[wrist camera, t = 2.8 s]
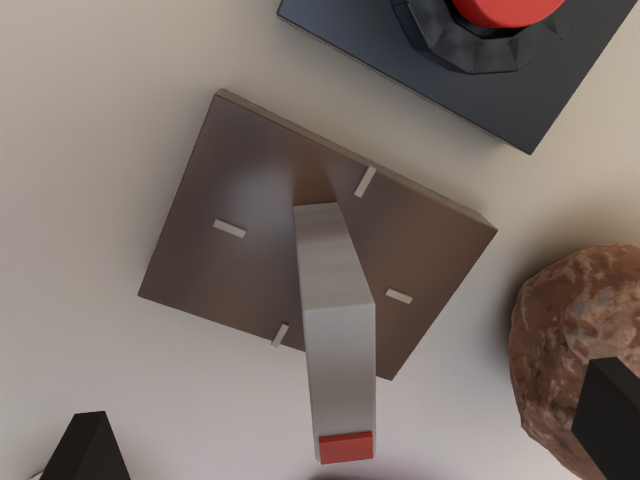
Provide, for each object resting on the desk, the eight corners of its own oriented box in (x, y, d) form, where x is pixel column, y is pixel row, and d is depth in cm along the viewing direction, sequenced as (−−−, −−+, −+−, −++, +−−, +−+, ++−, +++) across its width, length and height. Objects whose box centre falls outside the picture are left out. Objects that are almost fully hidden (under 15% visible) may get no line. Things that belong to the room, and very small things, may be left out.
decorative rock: (628, 391, 29) (789, 554, 20) (465, 405, 28) (555, 582, 19) (701, 207, 23) (972, 318, 14) (498, 218, 22) (650, 342, 13)
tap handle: (292, 205, 19) (302, 317, 11) (337, 201, 19) (377, 309, 11) (302, 318, 21) (316, 469, 14) (342, 314, 21) (377, 462, 14)
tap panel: (147, 276, 22) (134, 300, 20) (221, 85, 18) (215, 91, 16) (382, 358, 26) (391, 385, 24) (482, 212, 22) (502, 230, 20)
